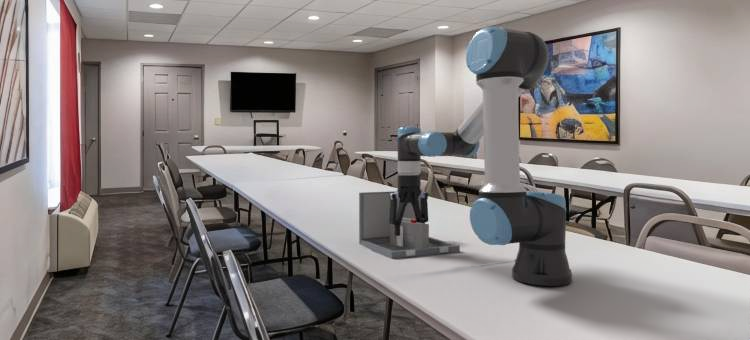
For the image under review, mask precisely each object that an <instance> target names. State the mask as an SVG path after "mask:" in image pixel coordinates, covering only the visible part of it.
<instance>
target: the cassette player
mask: <svg viewBox="0 0 750 340" xmlns="http://www.w3.org/2000/svg"><path fill="white" fill-rule="evenodd" d="M400 226H403V246H398V245H397V236H396V235H395V226H394V225H393V224H390V242H389V244H390V246H394V247H398V248H401V249H403V250H409V249H420V248H430V242H429V237H430V234H429V232H430V228H429V227H430V224H429V223H425V224H424V223H417V220H415V219H408V218H402V222H401V225H400Z"/></svg>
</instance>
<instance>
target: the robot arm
mask: <svg viewBox="0 0 750 340" xmlns="http://www.w3.org/2000/svg"><path fill="white" fill-rule="evenodd" d="M472 36H473V37H472V39H471V40H470V41H469V43H468V46H467V48H466V53H465V64H466V66H467V68H468V69H469V71H470V72H471V73H473V74H474V75H475V76H476V77H475V81H476V82H475V83H476V85H477V86H478V87H479V88H480V89H481V90H482V99H481V100H480V101H479V102H478V103H477V105H476V106H475V107H474V108H473V110H472V111H471V112H470V113H469V115H468V116H466V118H465V119H464V120H463V121H462V123H461V124H460V125H459V126H458V127H457V129H455V131H454V132H450V131H449V132H446V131H445V132H440V131H433V130H432V131H431V130H429V131H422V130H421V127H419V126H401V127H398V129H397V139H396V140H397V174H398V175H397V190H396V191H397V192H395V193H390V194H389V197H390V216H389V223H390V224H393V225H394V226H395V235H396V236H397V245H398V246H403V226H400V225H401V222H402V218H403V215H404V211H405V207H406V206H407V203H410V202H411V204H412V206H413V210H414V214H415V217H416V220H417V223H424V224H426V223H428V222H429V209H428V208H429V207H428V198H429V192H427V191H423V190H422V189H421V184H422V183H421V178H422V176H421V175H420V174H422V169H421V167H422V166H421V164H422V163H421V162H422V159H421V157H429V158H430V157H435V158H436V157H463V158H464V157H471V156H474V155H476V154H477V153H478V151H479V148H480V144H481V143H480V140H481V139H482V138H483V158H484V159H483V160H484V161H483V162H484V180H485V184H484V186H483V187H482V188H480V189H479V190H478V198H477V200H475V201H474V202H472V206H471V207H470V210H469V222H470V226H471V229H472V230H473V232H474V234H475V235H476V236H477V238H478V239H479V240H480V241H481V242H482V243H484V244H486V245H491V246H506V245H509V244H511V245H512V244H517V243H518V245H519V246H518V247H519V248H518V251H517V254H516V258H515V260H514V261H515V262H514V265H513V266H512V269H511V277H512V279H514V280H515V281H517V282H521V283H525V284H530V285H534V286H535V285H536V286H547V287H548V286H550V287H551V286H564V285H569V284H570V283H573V272H572V270H571V269H570V263H569V260H568V257H567V253H566V252H567V251H566V230H567V229H566V225H567V224H566V222H567V207H566V206H567V205H566V204H567V203H566V198H565V197H564V196H563V195H562V194H558V193H553V192H552V193H551V192H550V193H549V192H543V191H535V190H534V191H532V190H527V189H526V188H525V187H524V186H523V185H522V184H521V175H520V173H521V172H520V171H521V169H520V166H521V165H520V135H519V134H520V132H519V126H520V124H519V97H521V95H522V94H523V93H524V92H526V91H530V90H532V89H533V88H534V87H535V86H536V85H537V84H538V82H539V81H540V79H542V77H543V76H544V73H545V71H546V70H547V67H548V65H549V59H550V57H549V55H550V54H549V49H548V46H547V43H546V42H545V40H544V39H543V38H542V37H541V36H540V35H538V34H536V33H534V32H531V31H523V30H516V29H511V28H507V27H506V28H505V27H502V26H485V27H483V28H481V29H479V30H478V31H477V32H476V33H475V34H474V35H472ZM421 190H422V191H423V192H422V191H421ZM398 196H399V198H400V201H399V207H398V211H397V199H398ZM419 196H420V197H421V199H420V201H421V210H420V207H419V201H418V197H419ZM396 213H397V214H396Z"/></svg>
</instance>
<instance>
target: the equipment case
mask: <svg viewBox="0 0 750 340" xmlns="http://www.w3.org/2000/svg"><path fill="white" fill-rule="evenodd" d="M421 191H422V192H424V190H422V189H421ZM395 192H397V190H395V191H372V192H370V191H367V192H364V191H363V192H359V193H358V235H359V236H358V241H359V242H358V244H359V245H361V246H362V247H364V248H365V249H368V250H370V251H371V252H374V253H377V254H380V255H382V256H384V257H387V258H389V259H391V260H392V259H401V258H413V257H422V256H432V255H440V254H442V255H443V254H450V253H452V254H453V253H460V251H461V249H460V248H461V246H460V245H459V244H455V243H452V242H448V241H445V240H440V239H437V238H434V237H431V236H429V243H432V244H434V245H436V246H432V247H429V248H420V249H409V250H407V249H401V250H392V249H390V248H387V247H383V246H382V245H380V244H386V243H389V244H390V223H389V216H390V197H389V194H390V193H395ZM420 199H421V197H420V196H419V197H418V201H419V207H420V210H421V201H420ZM399 201H400V198H399V196H398V199H397V211H398V207H399ZM396 214H397V213H396ZM403 218H408V219H415V220H416V217H415V214H414V210H413V206H412V204H411V202H410V203H407V206H406V207H405V211H404V215H403Z"/></svg>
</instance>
